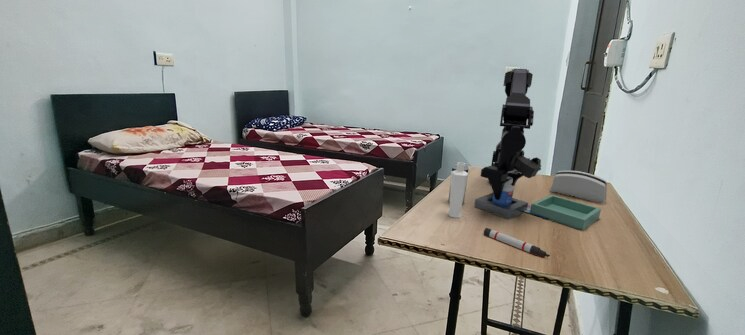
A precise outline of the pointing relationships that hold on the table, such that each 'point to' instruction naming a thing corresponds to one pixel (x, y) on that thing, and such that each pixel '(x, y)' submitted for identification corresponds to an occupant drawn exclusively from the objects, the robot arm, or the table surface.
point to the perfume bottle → (457, 190)
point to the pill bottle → (505, 194)
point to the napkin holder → (580, 185)
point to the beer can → (454, 170)
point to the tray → (566, 211)
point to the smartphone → (532, 213)
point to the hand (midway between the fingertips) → (502, 197)
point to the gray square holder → (501, 206)
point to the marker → (515, 242)
